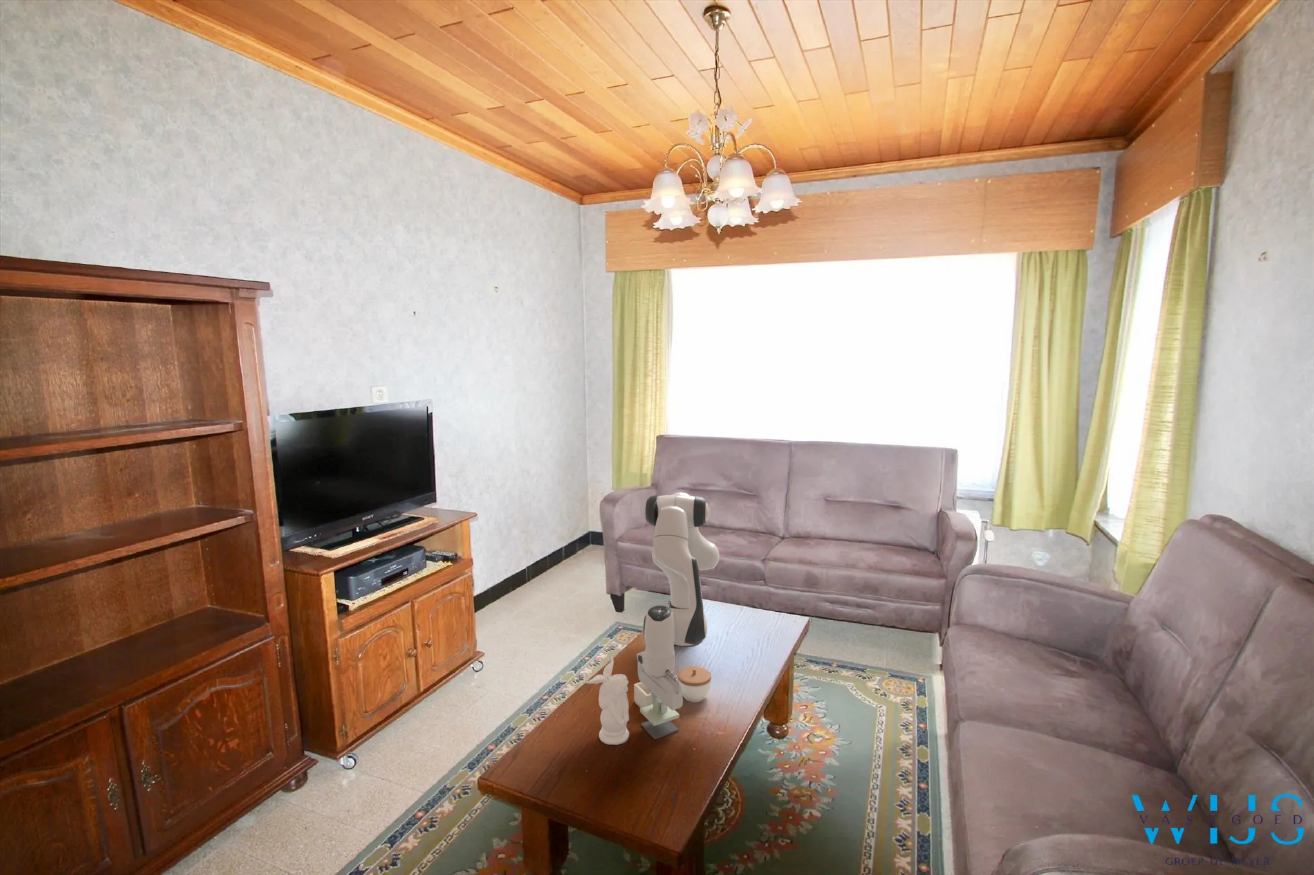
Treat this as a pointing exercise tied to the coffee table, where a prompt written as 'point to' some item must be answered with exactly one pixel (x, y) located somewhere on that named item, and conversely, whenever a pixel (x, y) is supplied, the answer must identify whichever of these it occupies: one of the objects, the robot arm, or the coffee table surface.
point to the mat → (659, 729)
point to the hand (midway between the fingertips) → (659, 708)
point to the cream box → (642, 695)
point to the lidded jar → (694, 683)
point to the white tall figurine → (612, 706)
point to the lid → (658, 713)
